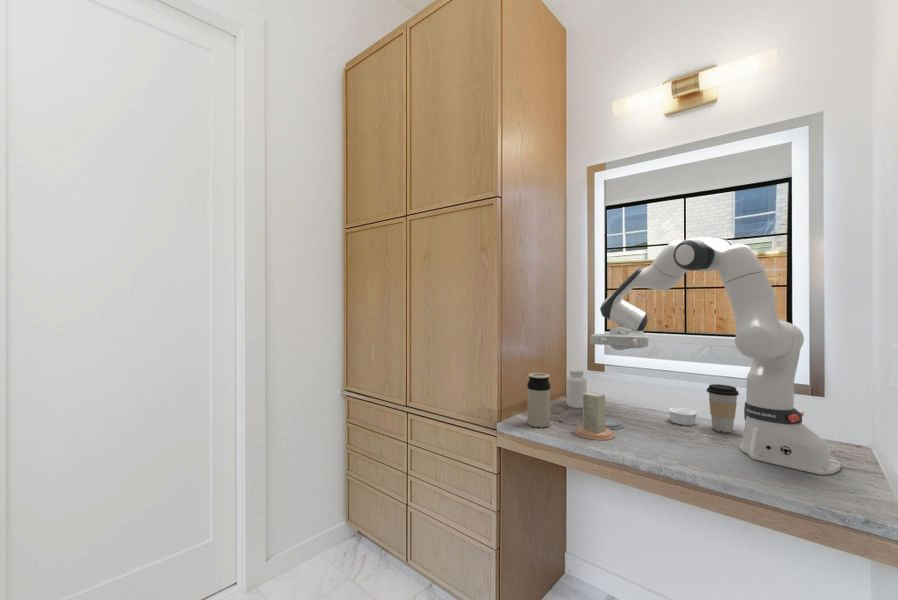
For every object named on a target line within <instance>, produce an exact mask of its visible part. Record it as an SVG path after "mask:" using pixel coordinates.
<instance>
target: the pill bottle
mask: <svg viewBox="0 0 898 600" xmlns="http://www.w3.org/2000/svg"><path fill="white" fill-rule="evenodd" d="M587 384H588V383H587V379H586V377H584V371H583V370H582V369H570V370H569V376H568V377H567V378H566V405H567V406H568V407H570V408H573V409H583V395H582V393H587V388H588V387H587Z"/></svg>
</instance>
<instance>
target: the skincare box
mask: <svg viewBox="0 0 898 600" xmlns="http://www.w3.org/2000/svg"><path fill="white" fill-rule="evenodd" d="M582 395H583V408H582V425H583V429H586V430H589V431H593V432H596V433H600V432H603V431H606V423H605V417H606V395H605V394H603V393H598V392H594V391H588V392H587V393H582Z"/></svg>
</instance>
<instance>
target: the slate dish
mask: <svg viewBox="0 0 898 600" xmlns="http://www.w3.org/2000/svg"><path fill="white" fill-rule="evenodd" d="M605 423H606V428H608V429H610V430H611V431H615V430H620V429H623V428H624V427H625V423H624V422H623V421H621V420H619V418H618V419H617V418H614V417H609V416H605Z"/></svg>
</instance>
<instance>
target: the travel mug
mask: <svg viewBox="0 0 898 600" xmlns="http://www.w3.org/2000/svg"><path fill="white" fill-rule="evenodd" d="M527 376H528V378H529V379H528V382H527V393H526V394H527V395H526V396H527V397H526V399H527V400H526V401H527V410H526V412H527V415H526V418H527V419H526V422H527V423H528V424H529V426H530V425H531V426H530V427H532V426H534V427H533V428H536V427H540V428H539V429H544V428H543V427H545V428H547V427H549V426H551V383H550V381H549V378H550V374H549V373H544V372H543V373H542V372H541V373H540V372H532V373H529V374H527ZM528 424H527V425H528Z"/></svg>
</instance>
